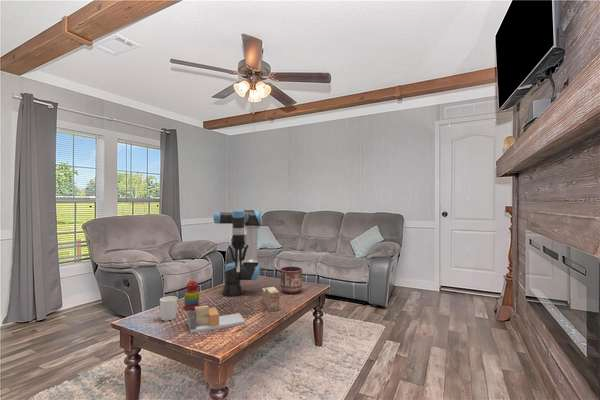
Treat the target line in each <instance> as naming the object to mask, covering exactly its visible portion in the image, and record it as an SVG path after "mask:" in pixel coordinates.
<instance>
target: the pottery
mask: <svg viewBox="0 0 600 400" xmlns="http://www.w3.org/2000/svg"><path fill="white" fill-rule="evenodd" d="M279 272H280V289H281V290H282V292H283V293H285V294H287V293H288V294H290V295H292V294H293V295H294V293H295V294H297V293H299V292H300V291H301V289H302V286H303V283H302V280H303V268H301V267H299V266H284V267H281V268H280V269H279ZM288 294H287V295H288Z"/></svg>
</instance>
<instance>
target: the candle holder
mask: <svg viewBox="0 0 600 400" xmlns="http://www.w3.org/2000/svg"><path fill="white" fill-rule="evenodd" d="M177 306H178V297H177V296H174V295H169V296H168V295H167V296H163V297H161V298H160V299H159V307H160V308H159V309H160V320H161V321H162V320H164V321H163V322H169V320H171V321H174V320H175V319H177ZM173 319H174V320H173Z"/></svg>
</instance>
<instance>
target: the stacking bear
mask: <svg viewBox="0 0 600 400" xmlns="http://www.w3.org/2000/svg"><path fill="white" fill-rule="evenodd" d="M186 288H187V289H186V290H185V293H184V298H183V300H184V309H185V310H186V311H187V310H188V311H195V307H200V306H202V305H201V304H200V303H199V301H200V292H199V290H198V288H199V283H197V281H195V280H192V279H190V280H189V281H188V282H187V285H186Z"/></svg>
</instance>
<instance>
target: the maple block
mask: <svg viewBox="0 0 600 400" xmlns="http://www.w3.org/2000/svg"><path fill="white" fill-rule="evenodd" d="M209 308H210V307H209V305H201V306H200V307H195V310H194V312H195V315H196V326H201V325H207V324H209Z"/></svg>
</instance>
